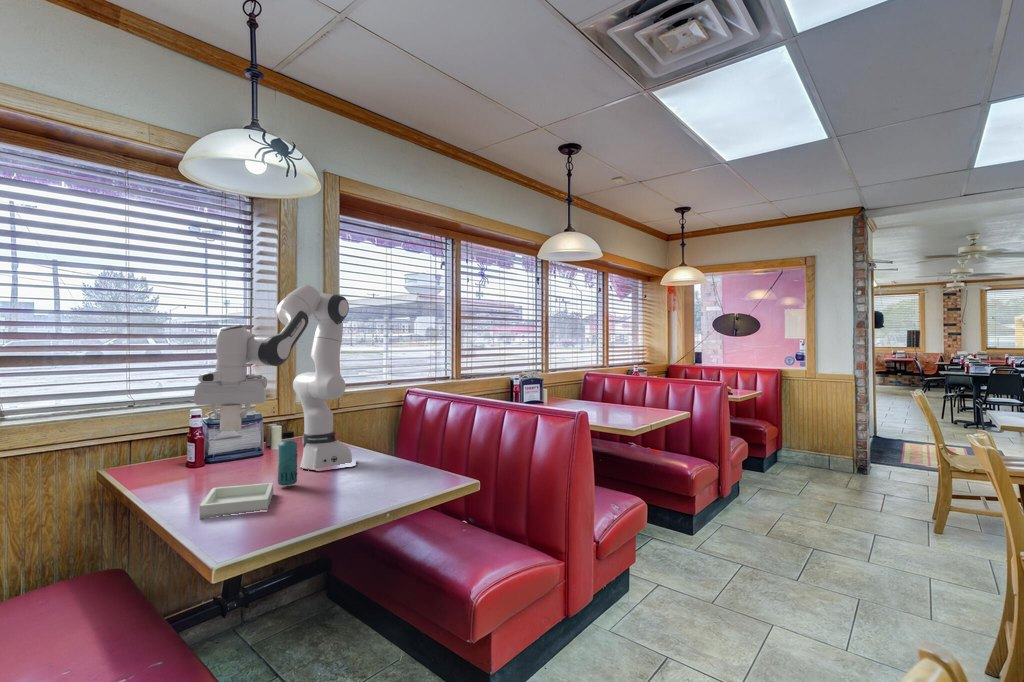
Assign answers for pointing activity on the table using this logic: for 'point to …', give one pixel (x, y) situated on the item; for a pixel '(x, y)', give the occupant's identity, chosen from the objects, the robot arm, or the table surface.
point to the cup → (230, 417)
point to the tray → (236, 500)
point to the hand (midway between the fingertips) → (230, 418)
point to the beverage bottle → (287, 460)
